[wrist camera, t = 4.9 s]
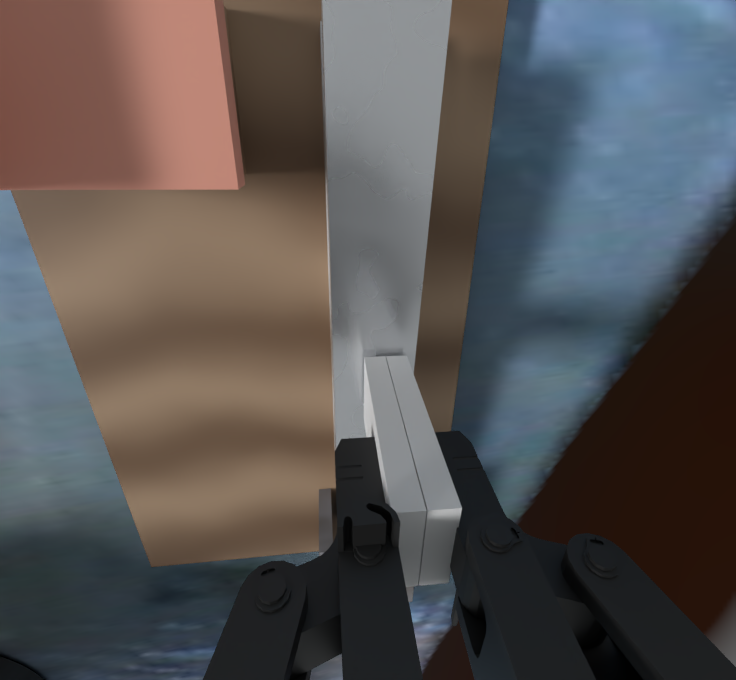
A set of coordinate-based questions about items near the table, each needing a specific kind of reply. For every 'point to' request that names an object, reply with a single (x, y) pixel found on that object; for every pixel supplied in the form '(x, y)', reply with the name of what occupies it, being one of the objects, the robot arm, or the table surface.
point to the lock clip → (117, 96)
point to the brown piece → (252, 298)
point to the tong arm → (378, 179)
